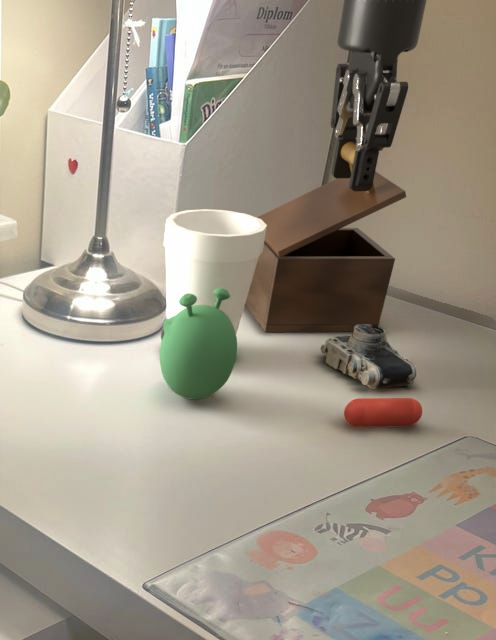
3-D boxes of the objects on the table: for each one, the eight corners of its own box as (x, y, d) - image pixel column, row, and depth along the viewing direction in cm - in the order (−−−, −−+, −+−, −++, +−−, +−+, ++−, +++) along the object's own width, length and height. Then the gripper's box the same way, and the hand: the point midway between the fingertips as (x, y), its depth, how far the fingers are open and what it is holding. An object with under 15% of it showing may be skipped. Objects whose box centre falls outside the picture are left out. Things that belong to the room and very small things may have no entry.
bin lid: (366, 170, 108) (356, 126, 105) (406, 197, 99) (397, 149, 96) (251, 226, 111) (238, 185, 108) (279, 257, 101) (266, 213, 99)
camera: (369, 395, 93) (379, 352, 91) (313, 355, 101) (321, 315, 99) (415, 389, 95) (426, 347, 92) (356, 351, 102) (365, 311, 100)
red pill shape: (411, 418, 89) (419, 393, 88) (422, 430, 87) (430, 404, 86) (337, 419, 89) (343, 393, 87) (346, 431, 87) (352, 405, 86)
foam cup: (233, 378, 96) (255, 241, 88) (142, 363, 99) (156, 228, 91) (251, 345, 103) (273, 215, 95) (166, 332, 106) (181, 205, 98)
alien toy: (189, 373, 97) (202, 270, 91) (245, 400, 92) (263, 294, 86) (135, 389, 94) (145, 283, 87) (190, 418, 89) (205, 308, 83)
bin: (342, 296, 116) (357, 227, 111) (377, 331, 107) (395, 258, 102) (238, 296, 115) (249, 227, 111) (264, 332, 106) (277, 258, 101)
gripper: (457, -3, 87) (411, 200, 97) (397, -16, 98) (361, 167, 109) (374, -2, 87) (337, 202, 97) (324, -15, 98) (295, 169, 108)
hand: (350, 182), depth 103 cm, fingers closed on bin lid, 5 cm apart
